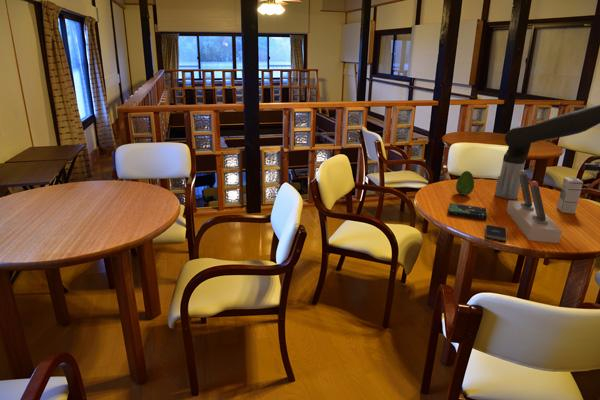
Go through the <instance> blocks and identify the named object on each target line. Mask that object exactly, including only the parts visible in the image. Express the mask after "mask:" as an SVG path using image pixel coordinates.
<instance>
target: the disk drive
mask: <svg viewBox="0 0 600 400" xmlns="http://www.w3.org/2000/svg"><path fill="white" fill-rule="evenodd" d="M447 215H448V216H450V217H457V218H463V219H470V220H471V219H472V220H478V221H484V222H486V221H487V218H488V217H487V216H488V214H487V208H486V207H483V206H482V207H481V206H480V207H479V206H473V205H466V204H459V203H451V202H449V205H448V214H447Z"/></svg>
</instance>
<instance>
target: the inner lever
mask: <svg viewBox="0 0 600 400" xmlns="http://www.w3.org/2000/svg"><path fill="white" fill-rule="evenodd" d="M519 178H520V188H521V193H522V199H523V202H524V203H525V204H526V205H527V206H528V207H531V206H532V203H533V200H532V197H531V196H532V195H531V189H530V185H529V179H528V174H527V171H526V170H525V169H523V170H520V171H519Z"/></svg>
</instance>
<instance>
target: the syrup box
mask: <svg viewBox="0 0 600 400" xmlns="http://www.w3.org/2000/svg"><path fill="white" fill-rule="evenodd" d="M583 184H584V181H583V180H581V179H579V178H577V177H565V176H564V178H563V180H562V184H561V190H560V193H559V197H558V200H557V205H556V209H557V210H559V212H561V213H565V214H566V213H567V214H576V211H577V207H578V203H579V199H580V196H581V192H582V188H583Z"/></svg>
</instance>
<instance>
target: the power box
mask: <svg viewBox="0 0 600 400" xmlns="http://www.w3.org/2000/svg"><path fill="white" fill-rule="evenodd" d="M506 206H507V207H506V213H507V214H508V216H509V217H510V218H511V219H512V220H513V221H514V223H515V224H516V226H518V228H519V230H521V232H522V233H523V234H524V236H525V237H526V238H527V240H529V241H532V242H535V241H536V242H542V243H543V242H544V243H553V244H560V241H561V237H562V234H563V230H562V228H560V227H559V226H558V225H557V224H556V222H554V221H553V220H552V219H551V218H550V217H549V216H548V215H547V214H546V213H545V217H546V220H545V221H542V220H541V219H540V218H539V217H538V216H537V215H536V210H535V206H534V202H532V206H531V207H528V206H527V205H526V204H525V203H524V201H518V200H508V202H507V205H506Z"/></svg>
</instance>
